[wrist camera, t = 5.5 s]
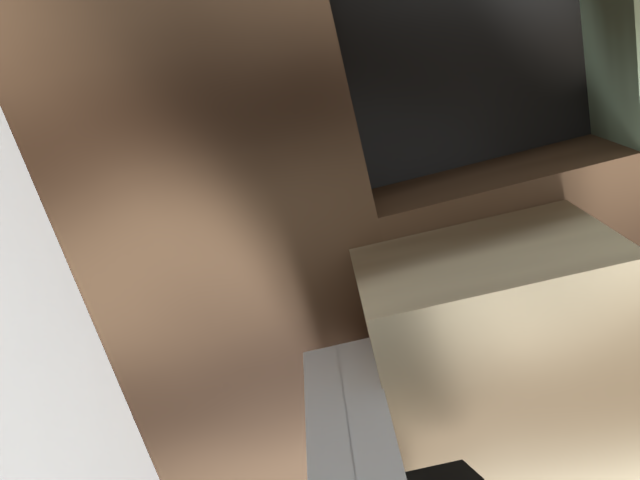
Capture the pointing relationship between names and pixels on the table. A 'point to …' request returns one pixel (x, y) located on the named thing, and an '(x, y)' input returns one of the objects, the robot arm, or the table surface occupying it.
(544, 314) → the birch block
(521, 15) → the multicoloured piece
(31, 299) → the table surface
